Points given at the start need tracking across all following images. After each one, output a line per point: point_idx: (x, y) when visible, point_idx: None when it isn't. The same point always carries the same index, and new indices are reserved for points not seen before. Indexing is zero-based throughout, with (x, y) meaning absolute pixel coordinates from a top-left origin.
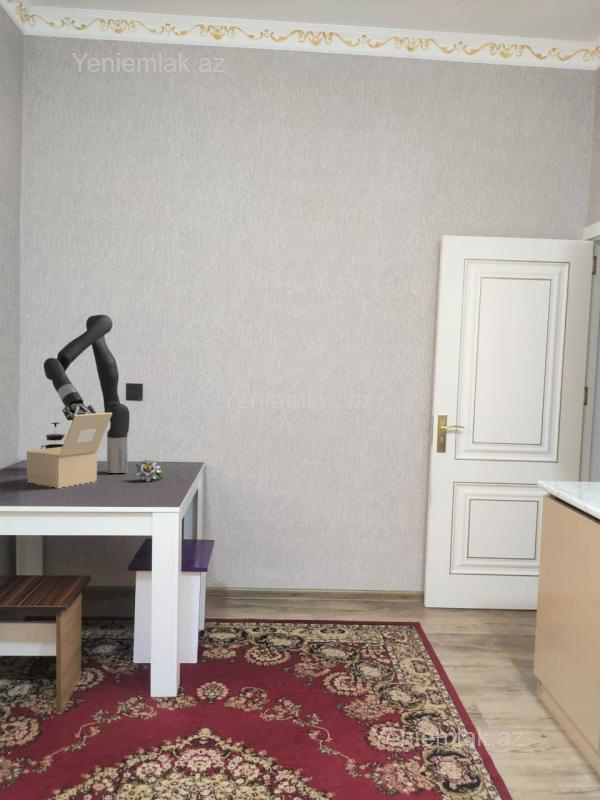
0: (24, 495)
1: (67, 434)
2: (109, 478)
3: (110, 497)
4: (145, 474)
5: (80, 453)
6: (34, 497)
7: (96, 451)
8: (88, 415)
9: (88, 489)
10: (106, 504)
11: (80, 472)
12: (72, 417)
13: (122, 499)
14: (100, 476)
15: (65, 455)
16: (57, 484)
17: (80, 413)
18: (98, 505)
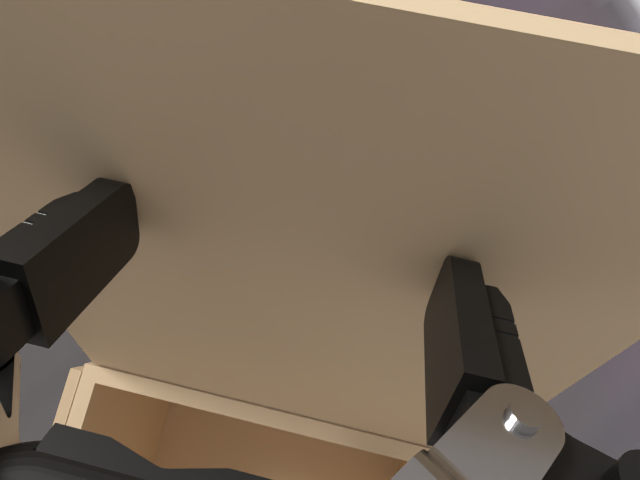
0: (627, 443)
1: (584, 371)
2: (61, 348)
3: None
4: None
5: (250, 402)
6: (637, 362)
7: (92, 362)
8: (484, 20)
9: None
10: (591, 3)
11: None
12: (587, 457)
13: (484, 3)
14: (19, 434)
15: (399, 439)
16: None
17: (247, 475)
18: (621, 18)
